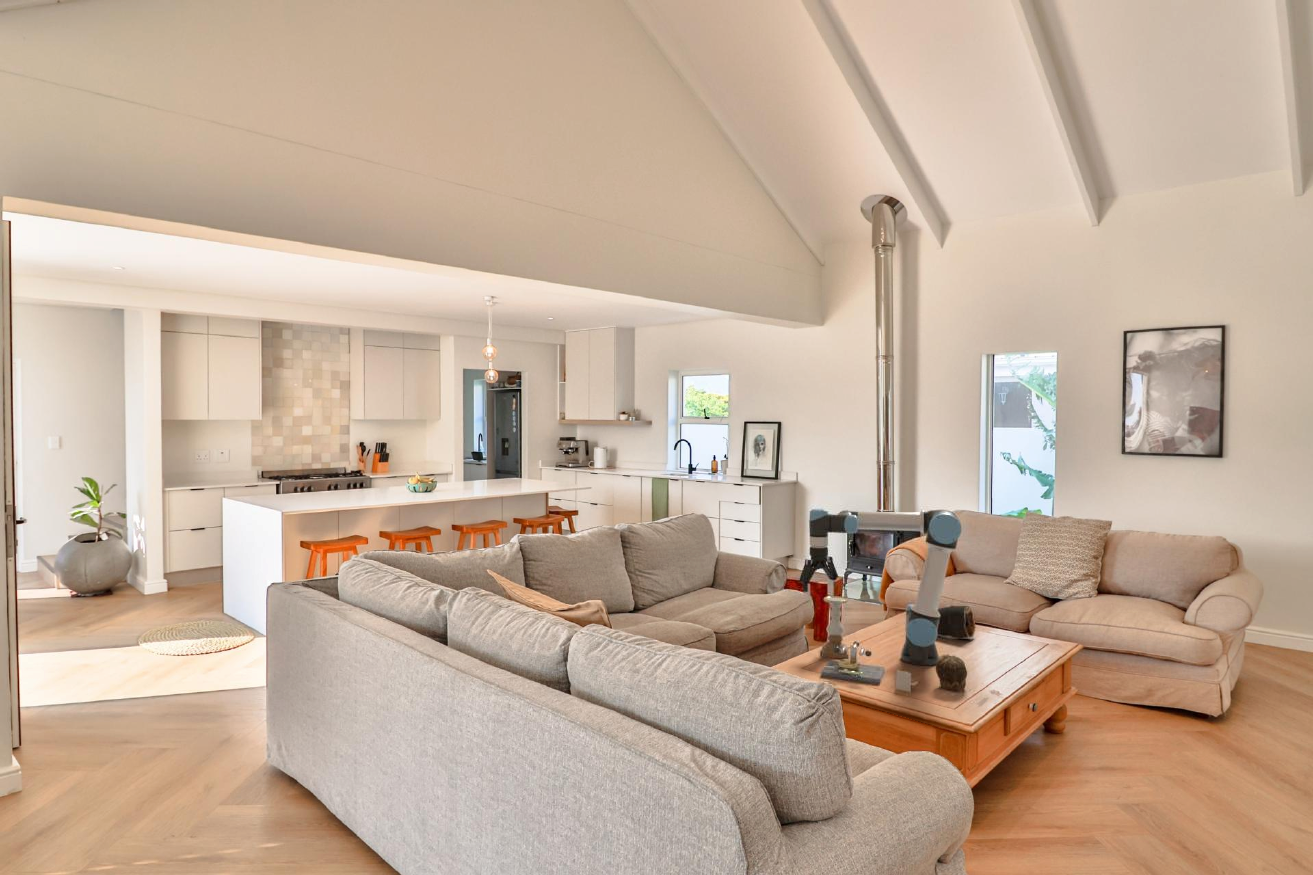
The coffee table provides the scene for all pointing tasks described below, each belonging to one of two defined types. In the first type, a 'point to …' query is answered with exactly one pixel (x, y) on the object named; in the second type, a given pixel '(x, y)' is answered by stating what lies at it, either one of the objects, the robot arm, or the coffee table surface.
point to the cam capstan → (851, 657)
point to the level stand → (853, 673)
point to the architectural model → (904, 681)
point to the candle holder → (835, 629)
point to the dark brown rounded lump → (951, 673)
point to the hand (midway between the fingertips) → (819, 597)
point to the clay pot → (956, 622)
